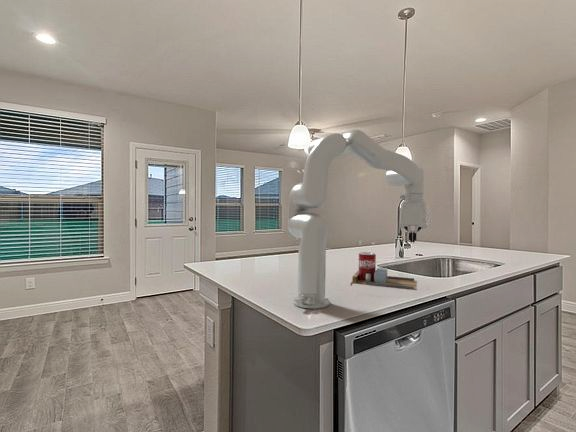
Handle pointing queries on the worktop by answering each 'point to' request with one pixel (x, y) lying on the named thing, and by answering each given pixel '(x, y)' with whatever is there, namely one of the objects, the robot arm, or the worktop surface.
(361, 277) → the soda can
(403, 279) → the board
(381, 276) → the jaw
